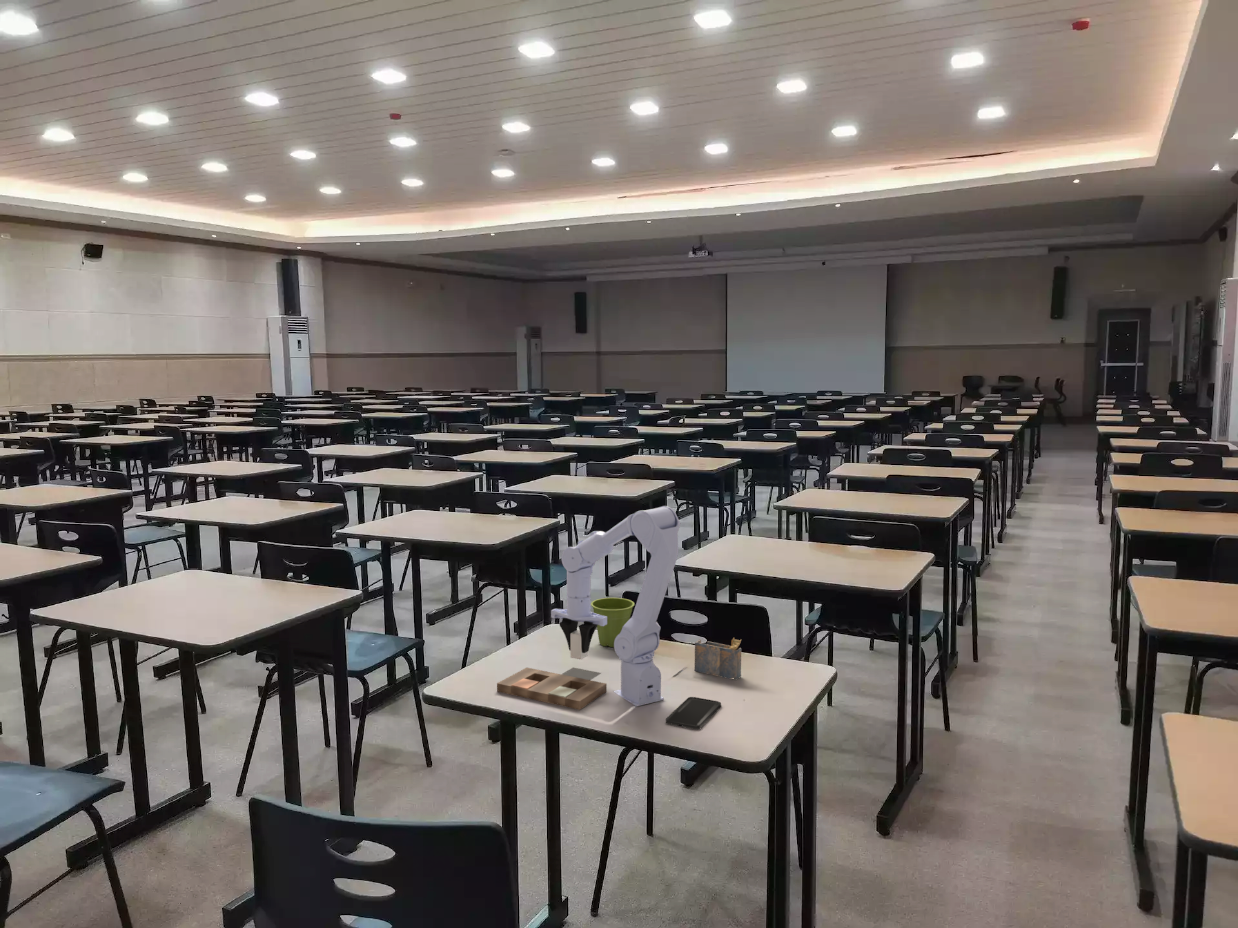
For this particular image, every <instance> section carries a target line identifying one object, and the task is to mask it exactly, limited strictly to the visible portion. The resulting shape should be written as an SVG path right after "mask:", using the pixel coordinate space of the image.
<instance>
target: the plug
mask: <svg viewBox="0 0 1238 928" xmlns="http://www.w3.org/2000/svg"><path fill="white" fill-rule="evenodd" d="M570 646H571V651H570V658H571V659H575V660H583V659H585V658H587V657H588V655H589V654H588V652H589V651H588V652H586V653H582V648H581V634H580V630H579V629H577V630H576V631H574V632H572V633H570Z"/></svg>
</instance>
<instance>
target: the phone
mask: <svg viewBox="0 0 1238 928" xmlns="http://www.w3.org/2000/svg"><path fill="white" fill-rule="evenodd" d="M721 708H722V703H721V702H720V701H718V700H713V699H708V698H707V699H706V698H701V697H696V696H689V697H687V698H686V699H685V700H684V701H683V702H682V703H681V704H680V705H679V706H678V707H676V709H674V710H673V711H672V712H671V713H670V714H669V715H668V716H667V717H666V718H665V724H667V725H668V726H672V727H673V726H674V727H679V728H683V729H689V730H694V731H698V730H701V729H702V728H703V727H704V725H706V724H707V722H709V721H710V719H712V718H713V716H714V715H715V714H716V713H717V710H718V709H719V710H720V709H721ZM719 710H718V711H719ZM700 728H701V729H700Z"/></svg>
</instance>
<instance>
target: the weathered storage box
mask: <svg viewBox="0 0 1238 928" xmlns="http://www.w3.org/2000/svg"><path fill="white" fill-rule="evenodd" d="M741 642H742V639H740V640H739V639H735V637H733V638H732V639H731V643H730V644H731V645H729V644H723V643H719V642H712V641H707V642H706V643H704V642H703V643H702V640H701V639H699V640H697V641H695V642H694V671H695V672H699V673H703V674H707V675H712V676H717V677H720V676H722V677H721V678H725V677H726V679H729V678H734V679H737V678H738V679H740V678H741V677H742V676H741V675H742V648H741V647H739V646H740V644H741ZM740 676H741V677H740ZM739 677H740V678H739ZM734 679H733V680H734ZM738 679H737V680H738Z"/></svg>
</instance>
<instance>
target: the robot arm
mask: <svg viewBox="0 0 1238 928" xmlns="http://www.w3.org/2000/svg"><path fill="white" fill-rule="evenodd" d="M680 527H681V522H680V520H679V517H678V516H677V513H676V511H675V510H674V509H673V508H672V507H670V506H667V505H662V506H659V507H655V508H650V509H646V510H643V509H642V510H638V511H635V512H634V513H632V514H629V515H628V516H627V517H625V518H624V519H623V520H622V521H620V522H618V523H617V524H616V525H614V526H613V527H612V528H610V529H609V530H607V531H603V530H594V531H592V532H590V533H589V535H590V536H588V537H587V538H585V539H584V540H583V539H581V540H579V541H577V545H576V546H567V547H566V548H565V549H564V550H563V551H562V554H561V563H562V566H563V567H564V569H565V570H566V608H553V609H551V610H550V618H551V619H561V621H560V622H559V627H560V629H561V630H562V632H563V634H564V636H565V639H566V643H567V646H568V649H569V651H570V652H571V646H570V633H572V632H574V631H576V630H580V634H581V648H582V653H586V652H589V650H590V646H591V641H592V638H593V636H594V634H595V632H596V630H597V626H598V625H600V626H605V625H607V616H602V615H599V614H596V613H594V611H591V610H592V608H591V607H592V606H591V602H592V599H591V598H592V596H591V593H592V588H591V587H592V584H591V583H592V582H591V581H592V580H591V578H592V576H591V575H592V574H593V567H594V566H595V564H596V562H598V561H599V560H601V559H603V558H605V557H606V556H608V555H609V554H611V553H612V552H613V550H614V545H615V544H617V543H620V542H621V541H623V540H624V539H626V538H629V537H630V536H635V537H636V538H637V540H638V541H639V542H640V544H641V545H642V546H643V548H645V550H646V551H647V552H648V553H650V556H651V557H650V559H649V563H648V566H647V569H646V573H645V576H644V579H643V582H642V584H641V589H640V591H639V594H638V596H637V600H636V604H635V605H634V606H635V607H634V609H633V611H632V612H633V613H632V614H631V615H632V616H630V619H629V620H628V622H627V623H626V624H625V625H624V626H623V628H622V630H621V632H620V634H619V635H617V637H616V638H615V641H614V647H613V648H614V652H615V654H616V656H617V657H618V658H619V661H620V689H616V690H613V691H612V692H613V693H615V694H616V695H617V696H619V697H621V698H622V699H624V700H626V701H627V702H629V703H631V704H632V706H633V707H640V706H643V705H648V704H651V703H656V702H659V701H664V700H665V698H664V697H663V695H662V694H661V693H662V673H661V670H660V669H659V668H658V667H657V666H656V665H655V664H656V663H654V659H653V658H654V656H655V651H656V650H657V649H658V648H659V645H660V640H661V639H660V632H661V626H660V625H659V623H658V621H657V620H658V617H659V614H660V611H661V608H662V606H663V603H664V599H665V596H666V593H667V590H668V587H669V585H670V581H671V578H672V575H673V572H674V568H675V566H676V563H677V559H678V557H679V538H678V537H679V535H678V533H679V530H680ZM579 622H581V624H579ZM578 624H579V625H578Z"/></svg>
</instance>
